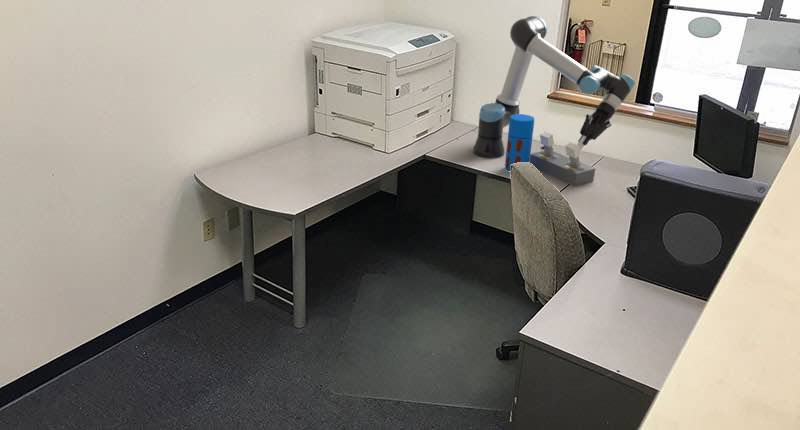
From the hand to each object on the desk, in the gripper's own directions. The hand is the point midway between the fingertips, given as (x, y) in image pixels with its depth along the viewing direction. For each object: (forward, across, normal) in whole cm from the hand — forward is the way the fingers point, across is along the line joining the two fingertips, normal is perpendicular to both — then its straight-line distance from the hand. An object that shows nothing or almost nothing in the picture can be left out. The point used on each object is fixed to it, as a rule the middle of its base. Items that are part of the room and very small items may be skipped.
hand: (577, 149), depth 271 cm
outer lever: (+5, +1, -7) cm, 8 cm away
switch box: (+9, +9, -11) cm, 17 cm away
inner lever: (+5, +17, -7) cm, 18 cm away
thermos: (+20, +22, 0) cm, 29 cm away
